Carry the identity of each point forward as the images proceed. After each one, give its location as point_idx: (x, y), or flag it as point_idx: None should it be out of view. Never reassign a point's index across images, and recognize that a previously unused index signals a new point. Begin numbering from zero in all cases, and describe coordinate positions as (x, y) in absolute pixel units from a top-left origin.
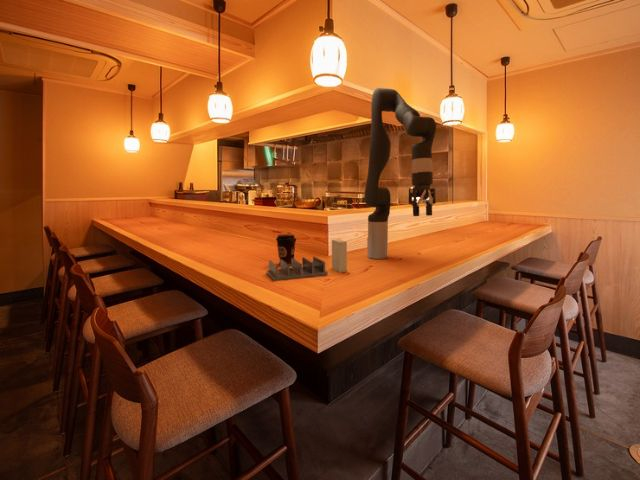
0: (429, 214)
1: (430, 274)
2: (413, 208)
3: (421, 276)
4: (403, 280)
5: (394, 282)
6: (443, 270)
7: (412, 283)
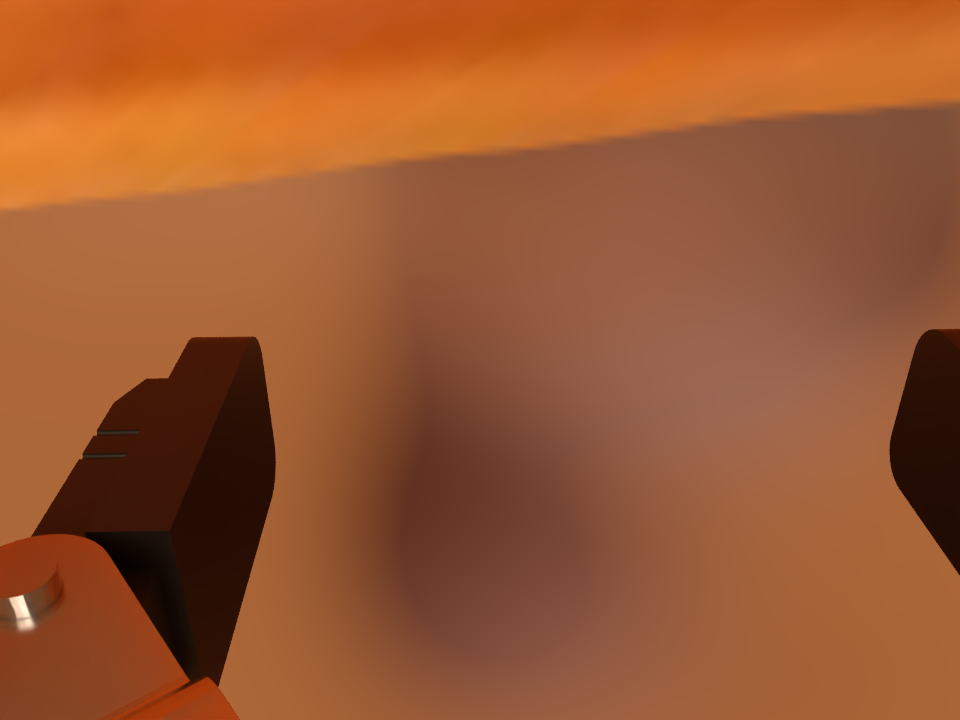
0: (909, 438)
1: (563, 93)
2: (59, 528)
3: (419, 74)
4: (138, 36)
5: (3, 18)
6: (832, 95)
7: (137, 161)
